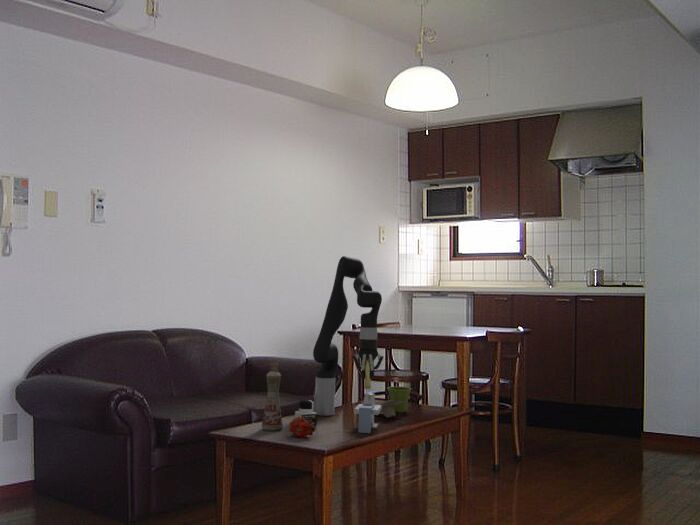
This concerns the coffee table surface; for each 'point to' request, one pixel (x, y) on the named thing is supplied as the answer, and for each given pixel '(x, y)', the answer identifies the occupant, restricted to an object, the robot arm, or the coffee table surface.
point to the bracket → (365, 418)
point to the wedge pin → (367, 374)
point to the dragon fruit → (301, 427)
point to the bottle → (272, 401)
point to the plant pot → (399, 397)
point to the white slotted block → (389, 408)
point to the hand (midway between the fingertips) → (367, 378)
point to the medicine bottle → (307, 412)
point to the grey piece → (375, 411)
